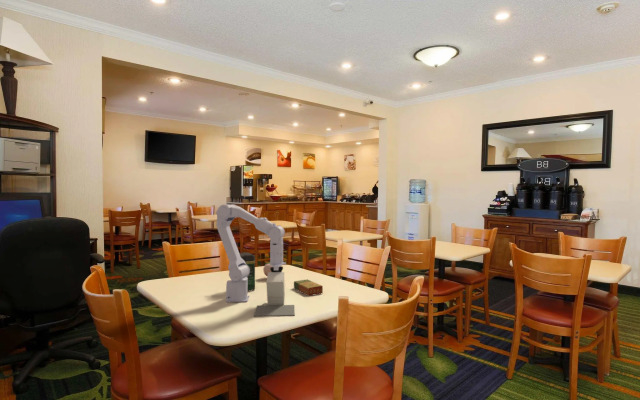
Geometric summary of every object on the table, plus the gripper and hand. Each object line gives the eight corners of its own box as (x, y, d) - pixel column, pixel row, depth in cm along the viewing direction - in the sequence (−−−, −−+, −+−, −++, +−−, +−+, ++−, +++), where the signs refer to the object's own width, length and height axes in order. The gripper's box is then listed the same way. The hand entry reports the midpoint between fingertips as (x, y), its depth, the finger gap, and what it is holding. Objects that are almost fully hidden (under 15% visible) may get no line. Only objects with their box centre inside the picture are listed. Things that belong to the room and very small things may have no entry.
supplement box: (285, 294, 164) (284, 271, 159) (284, 305, 157) (283, 282, 152) (268, 294, 164) (268, 271, 158) (267, 305, 157) (266, 282, 152)
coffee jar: (257, 290, 181) (257, 253, 181) (241, 292, 177) (241, 254, 177) (251, 286, 190) (251, 251, 189) (236, 288, 186) (236, 252, 186)
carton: (307, 296, 173) (307, 287, 173) (293, 288, 187) (293, 280, 187) (322, 294, 177) (322, 285, 177) (307, 286, 191) (307, 278, 191)
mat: (254, 316, 143) (254, 315, 143) (257, 306, 156) (257, 305, 156) (294, 315, 144) (294, 314, 144) (294, 305, 157) (294, 304, 157)
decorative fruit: (260, 279, 205) (260, 261, 205) (267, 276, 213) (267, 259, 213) (274, 281, 202) (274, 263, 202) (281, 277, 209) (281, 260, 209)
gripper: (285, 255, 154) (285, 287, 155) (285, 250, 169) (285, 279, 169) (268, 255, 154) (268, 287, 154) (270, 250, 168) (270, 279, 168)
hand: (276, 283), depth 161 cm, fingers closed, pressing on supplement box
